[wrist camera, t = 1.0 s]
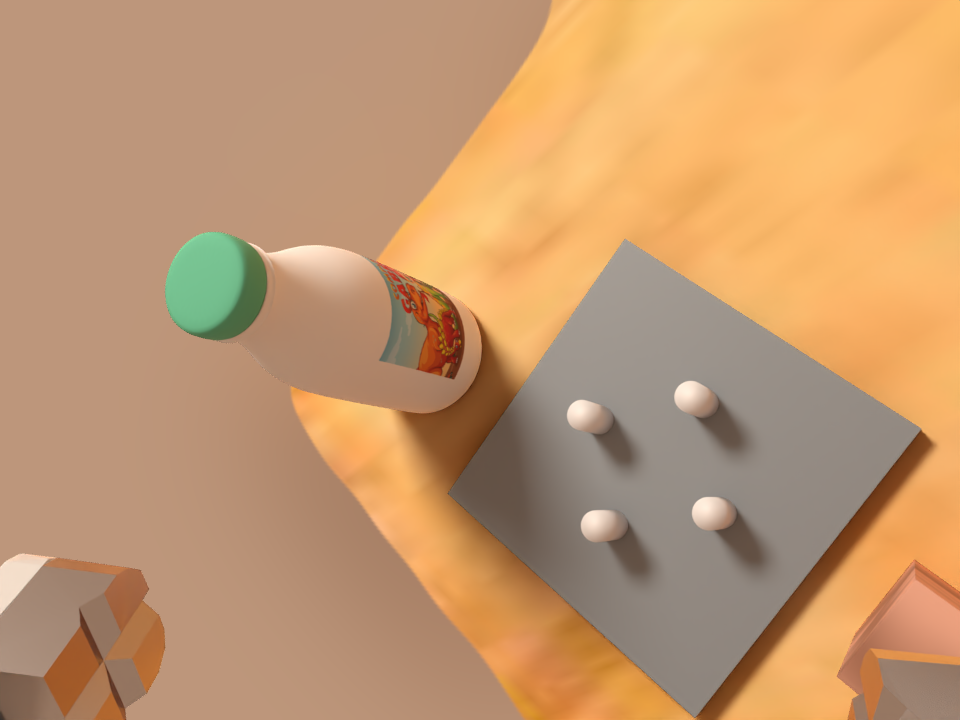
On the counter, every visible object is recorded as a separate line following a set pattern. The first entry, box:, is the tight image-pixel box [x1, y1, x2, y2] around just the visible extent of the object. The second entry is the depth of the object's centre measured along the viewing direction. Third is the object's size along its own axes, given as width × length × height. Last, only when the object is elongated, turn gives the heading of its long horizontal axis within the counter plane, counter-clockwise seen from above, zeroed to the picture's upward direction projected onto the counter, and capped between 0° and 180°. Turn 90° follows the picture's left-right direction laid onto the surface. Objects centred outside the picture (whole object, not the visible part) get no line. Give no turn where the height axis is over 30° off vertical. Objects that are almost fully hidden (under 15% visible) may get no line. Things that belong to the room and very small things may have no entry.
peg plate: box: [448, 239, 921, 718], centre depth 46 cm, size 18×18×4 cm
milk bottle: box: [165, 232, 482, 413], centre depth 46 cm, size 8×8×20 cm
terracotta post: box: [837, 560, 960, 695], centre depth 36 cm, size 4×4×12 cm
